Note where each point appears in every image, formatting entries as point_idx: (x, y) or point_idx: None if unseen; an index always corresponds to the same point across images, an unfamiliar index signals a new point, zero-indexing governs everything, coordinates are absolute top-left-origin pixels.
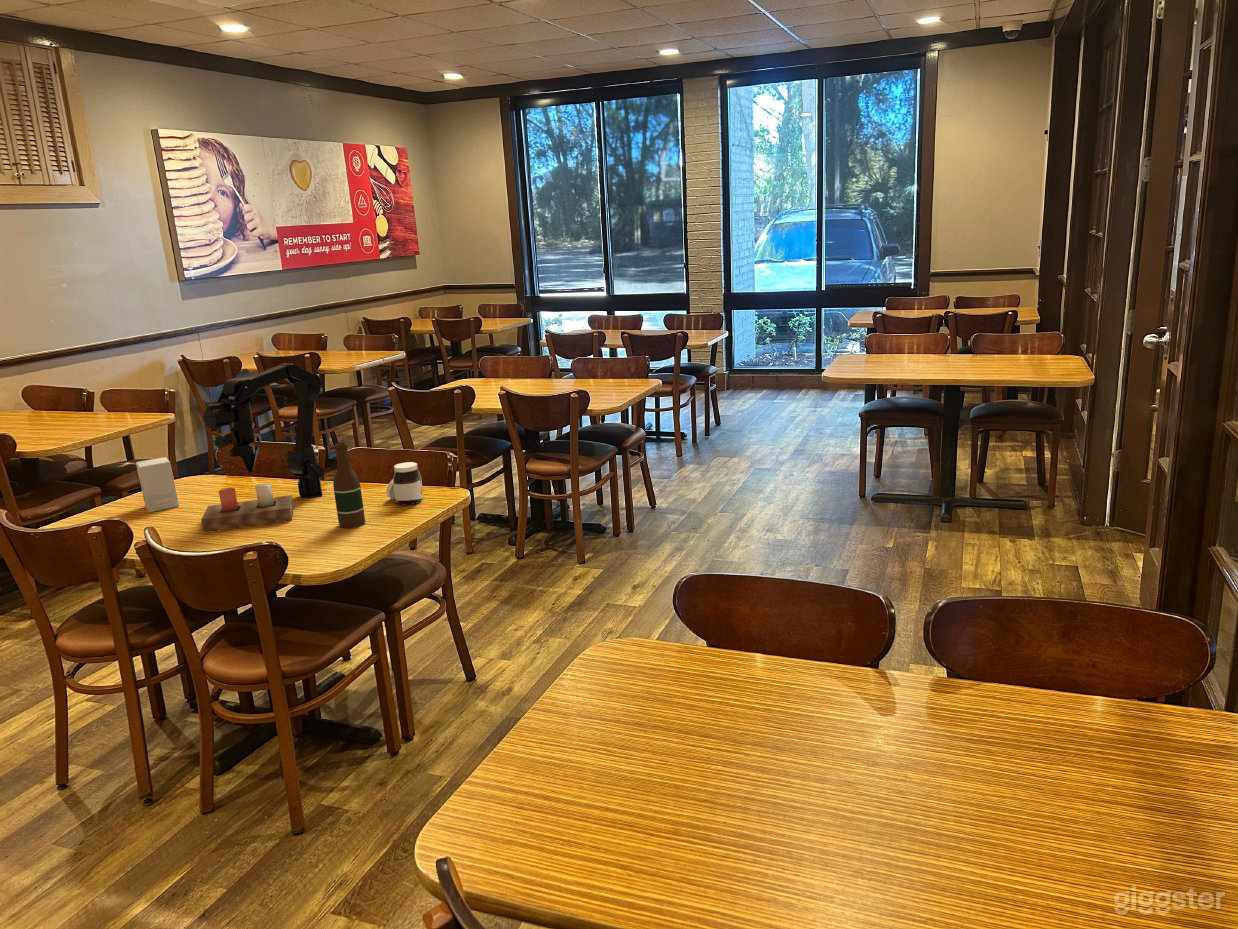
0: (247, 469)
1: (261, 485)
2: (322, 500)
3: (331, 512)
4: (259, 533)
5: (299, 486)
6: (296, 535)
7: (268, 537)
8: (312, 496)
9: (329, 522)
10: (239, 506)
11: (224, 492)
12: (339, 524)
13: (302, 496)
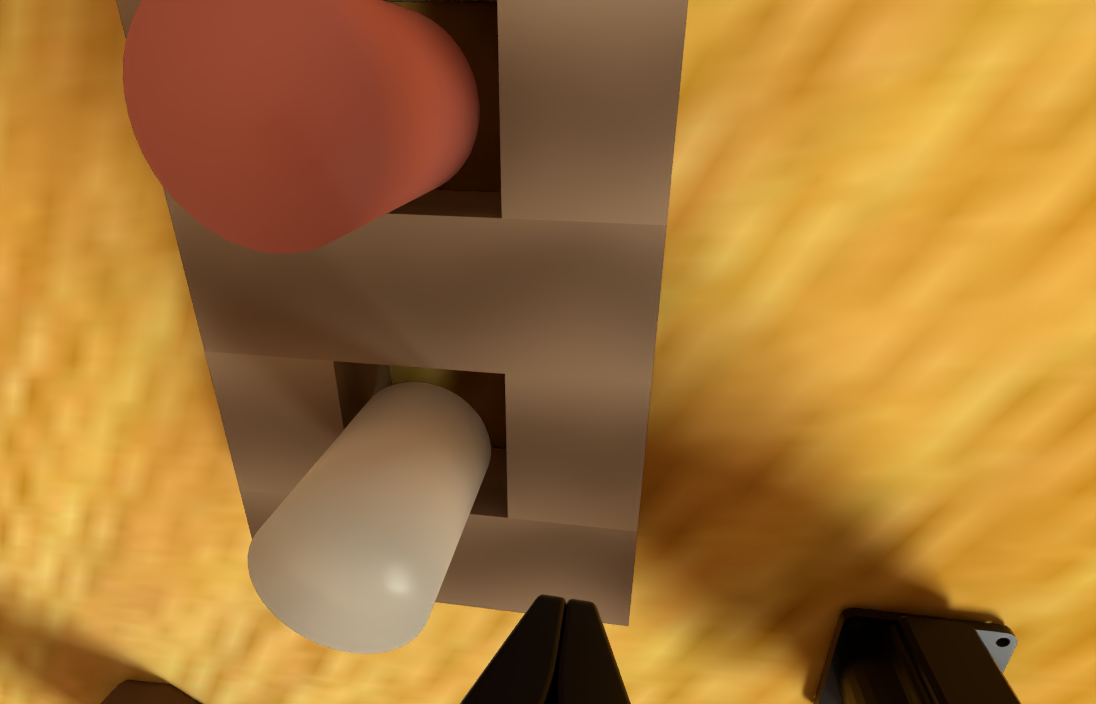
0: (503, 646)
1: (340, 571)
2: (703, 692)
3: (405, 689)
4: (97, 327)
5: (928, 692)
6: (36, 512)
7: (13, 378)
8: (825, 669)
9: (225, 657)
10: (501, 199)
11: (128, 88)
12: (109, 695)
13: (864, 625)
